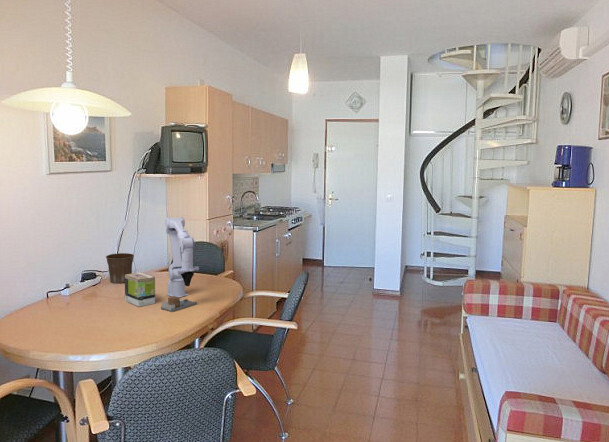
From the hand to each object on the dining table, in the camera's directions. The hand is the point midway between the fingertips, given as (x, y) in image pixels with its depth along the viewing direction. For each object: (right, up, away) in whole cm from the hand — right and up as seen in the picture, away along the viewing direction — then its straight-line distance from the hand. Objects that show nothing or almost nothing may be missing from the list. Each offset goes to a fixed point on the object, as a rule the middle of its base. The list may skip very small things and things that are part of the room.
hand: (187, 285), depth 250 cm
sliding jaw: (-3, -9, -4) cm, 11 cm away
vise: (-3, -10, -3) cm, 11 cm away
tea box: (-26, -9, +3) cm, 28 cm away
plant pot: (-52, -3, +44) cm, 68 cm away
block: (-5, -10, -7) cm, 13 cm away
